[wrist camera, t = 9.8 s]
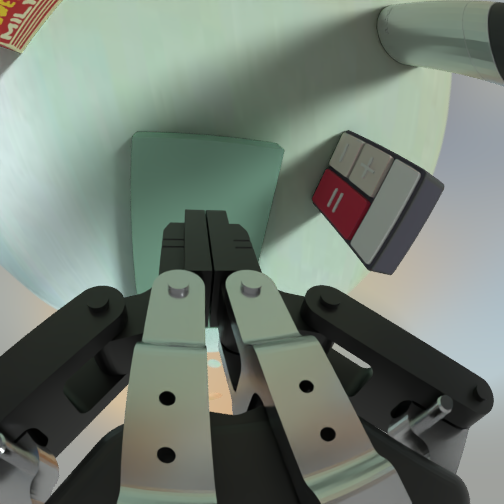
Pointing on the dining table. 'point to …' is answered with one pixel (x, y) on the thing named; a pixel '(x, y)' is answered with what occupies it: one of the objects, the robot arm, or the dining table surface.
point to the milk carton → (23, 21)
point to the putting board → (197, 188)
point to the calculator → (375, 200)
